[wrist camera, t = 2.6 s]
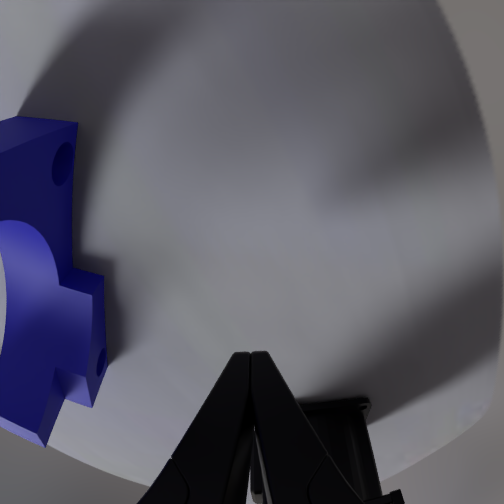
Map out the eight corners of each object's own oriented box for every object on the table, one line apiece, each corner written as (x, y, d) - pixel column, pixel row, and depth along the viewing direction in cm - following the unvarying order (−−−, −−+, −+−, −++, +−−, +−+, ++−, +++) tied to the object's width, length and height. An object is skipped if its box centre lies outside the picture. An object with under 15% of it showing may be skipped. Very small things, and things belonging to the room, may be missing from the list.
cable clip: (108, 363, 15) (75, 459, 10) (38, 339, 15) (-7, 422, 9) (117, 127, 10) (1, 185, 4) (19, 115, 9) (-102, 163, 4)
